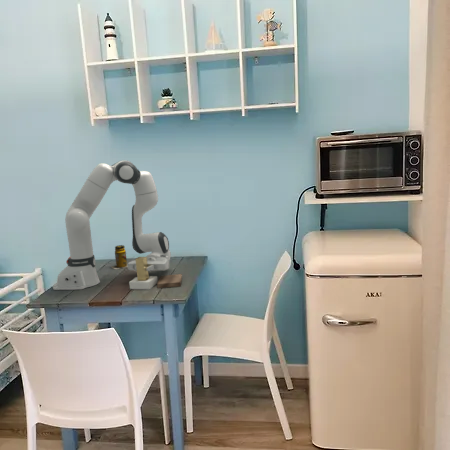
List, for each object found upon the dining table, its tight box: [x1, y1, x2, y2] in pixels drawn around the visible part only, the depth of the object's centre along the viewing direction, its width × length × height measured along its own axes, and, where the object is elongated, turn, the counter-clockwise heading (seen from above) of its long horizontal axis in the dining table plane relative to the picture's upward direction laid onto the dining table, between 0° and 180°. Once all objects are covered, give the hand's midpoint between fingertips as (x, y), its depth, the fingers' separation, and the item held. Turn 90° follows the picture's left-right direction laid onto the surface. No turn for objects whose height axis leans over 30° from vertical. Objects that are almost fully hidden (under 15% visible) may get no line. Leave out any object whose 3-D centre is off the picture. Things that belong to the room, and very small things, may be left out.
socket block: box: [128, 275, 158, 290], centre depth 226 cm, size 10×10×4 cm
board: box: [156, 273, 183, 289], centre depth 229 cm, size 11×14×2 cm
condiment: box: [111, 244, 128, 270], centre depth 265 cm, size 7×8×12 cm
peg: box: [135, 256, 150, 281], centre depth 225 cm, size 4×4×14 cm
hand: (141, 269), depth 224 cm, fingers closed on peg, 4 cm apart
